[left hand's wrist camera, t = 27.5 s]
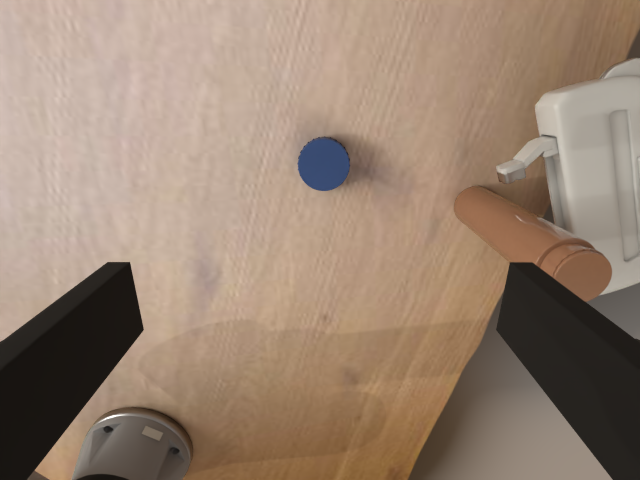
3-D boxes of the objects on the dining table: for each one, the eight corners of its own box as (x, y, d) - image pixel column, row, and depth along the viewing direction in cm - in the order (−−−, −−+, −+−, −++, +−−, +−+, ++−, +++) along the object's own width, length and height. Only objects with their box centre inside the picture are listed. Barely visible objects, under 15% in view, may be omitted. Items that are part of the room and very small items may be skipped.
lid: (288, 169, 39) (287, 172, 38) (316, 126, 38) (316, 127, 36) (329, 196, 40) (330, 201, 39) (358, 155, 39) (360, 158, 37)
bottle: (496, 185, 40) (626, 247, 23) (490, 223, 42) (608, 307, 25) (456, 186, 40) (556, 248, 23) (451, 224, 42) (542, 308, 25)
